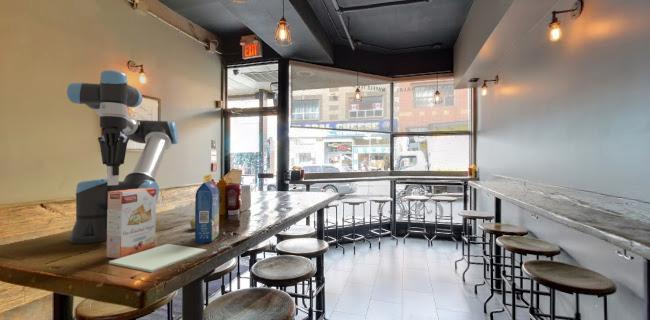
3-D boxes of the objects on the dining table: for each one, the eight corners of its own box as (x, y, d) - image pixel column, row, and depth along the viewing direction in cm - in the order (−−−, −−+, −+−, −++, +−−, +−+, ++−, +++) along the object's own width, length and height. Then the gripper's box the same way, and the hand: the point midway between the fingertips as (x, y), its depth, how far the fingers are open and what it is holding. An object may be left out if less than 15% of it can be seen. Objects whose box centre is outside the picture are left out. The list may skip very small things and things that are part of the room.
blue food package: (219, 234, 121) (219, 174, 121) (212, 242, 109) (212, 175, 109) (203, 234, 120) (203, 174, 120) (194, 242, 108) (194, 175, 108)
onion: (198, 232, 125) (198, 215, 125) (186, 230, 129) (186, 214, 129) (213, 228, 132) (213, 212, 132) (201, 226, 136) (201, 211, 136)
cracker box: (121, 259, 90) (122, 191, 90) (105, 258, 91) (105, 191, 91) (156, 246, 103) (157, 187, 103) (142, 245, 104) (142, 187, 105)
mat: (108, 263, 86) (108, 261, 86) (167, 245, 105) (167, 243, 105) (151, 272, 80) (151, 270, 80) (206, 251, 98) (206, 249, 98)
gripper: (89, 116, 100) (89, 185, 100) (114, 114, 95) (114, 186, 95) (112, 119, 107) (112, 183, 106) (137, 117, 102) (136, 184, 102)
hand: (113, 185), depth 101 cm, fingers closed
